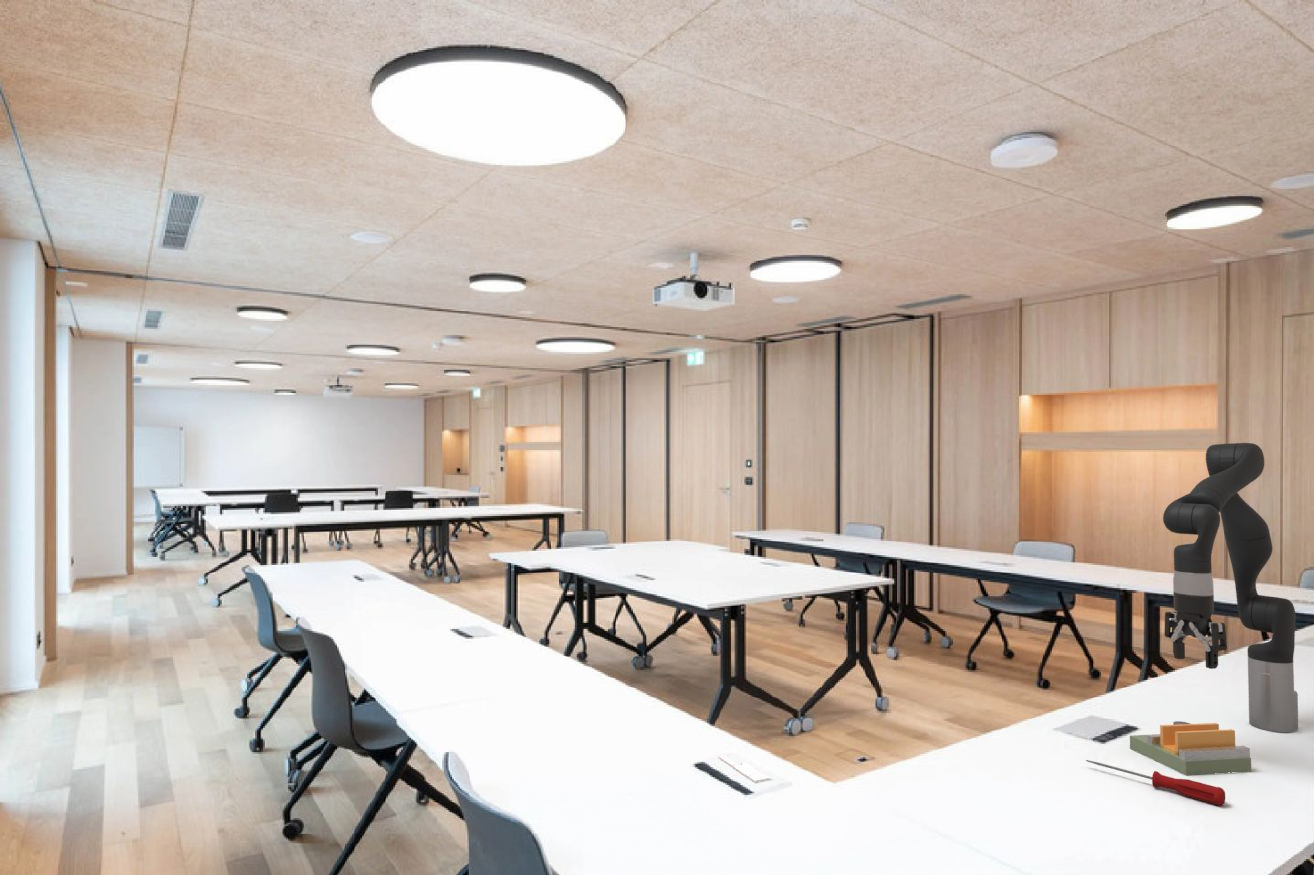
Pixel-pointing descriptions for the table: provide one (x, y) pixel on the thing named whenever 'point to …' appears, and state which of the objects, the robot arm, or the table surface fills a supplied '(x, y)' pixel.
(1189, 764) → the marble run board
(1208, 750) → the chute cradle
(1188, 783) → the screwdriver
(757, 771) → the white flat rectangular slab
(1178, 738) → the discharge chute
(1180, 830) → the table surface
